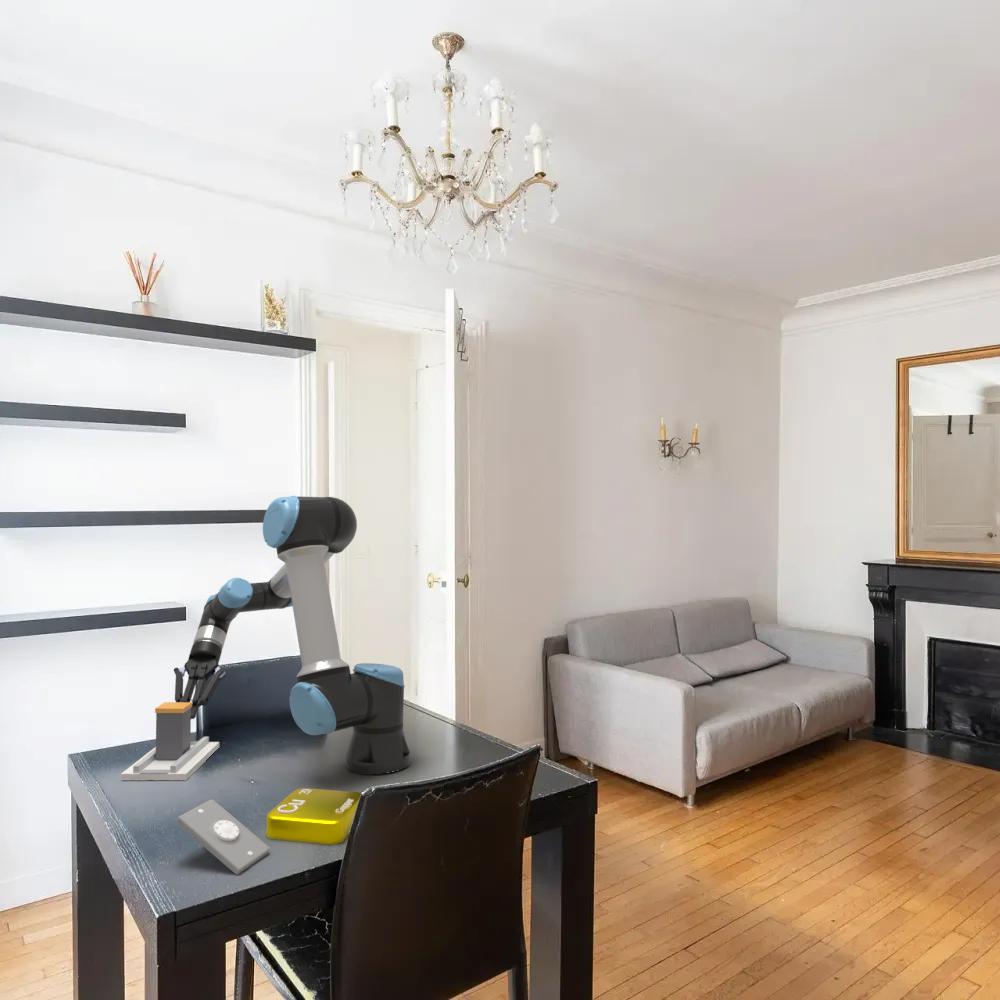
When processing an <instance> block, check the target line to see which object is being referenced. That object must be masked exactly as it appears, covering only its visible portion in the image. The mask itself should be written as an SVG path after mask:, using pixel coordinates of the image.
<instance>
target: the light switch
mask: <svg viewBox="0 0 1000 1000" xmlns="http://www.w3.org/2000/svg"><path fill="white" fill-rule="evenodd" d="M175 822H176V823H177V824H178V825H179V826H180V827H181V828H182V829H184V831H185V832H186V833H188V834H189V835H190V836H191V837H192V838H194V839H195V840H196V841H197V842H198V843H200V845H202V846H203V847H204V848H206V850H207V851H208V852H210V854H212V855H213V857H215V858H217V860H219V861H220V862H221V863H222V864H223V865H224V866H226V867H227V868H228V869H229V870H230V871H231V872H233V874H235V875H240V874H241V873H242V872H244V871H245V870H247V869H249V867H251V866H252V865H254V864H255V863H257V862H258V861H260V860H261V859H262V858H264V857H265V856H267V855H268V854H269V853H270V850H271V848H270V846H269V845H267V844H266V843H265V842H264V841H262V840H261V839H260V838H259V837H258V836H257V835H255V834H254V833H253V832H252V831H251V830H249V828H247V827H246V826H245V825H244V824H243V823H241V822H240V821H239V820H238V819H237V818H235V816H233V815H232V814H231V813H229V811H227V810H226V809H225V808H224V807H223V806H221V805H220V804H219V803H217V802H216V800H215V799H210V800H207V801H206V802H205V801H204V802H203V803H202V804H200V805H198V806H196V807H194V808H193V809H190V810H188V811H187V812H184V813H183V814H181V815H179V816H178V817H177V819H176V821H175Z"/></svg>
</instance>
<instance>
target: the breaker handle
mask: <svg viewBox="0 0 1000 1000" xmlns="http://www.w3.org/2000/svg"><path fill="white" fill-rule="evenodd" d="M191 707H192V701H190V702H176V701H175V702H172V701H169V702H165V701H164V702H163V703H162V704H160V705H158V706H157V707H156V708H155V707H154V713H155V717H156V718H155V719H156V720H155V721H156V722H155V747H156V760H178V759H179V758H180V757H181V756H182V755H184V754H185V753H186V752H187V751H188V750H189V749H190V741H191V731H192V730H191V723H192V722H191V721H192V719H191Z"/></svg>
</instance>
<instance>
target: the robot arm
mask: <svg viewBox="0 0 1000 1000" xmlns="http://www.w3.org/2000/svg"><path fill="white" fill-rule="evenodd" d="M357 529H358V522H357V517H356V514H355V511H354V510H353V508H352V507H351V506H350V505H349V504H348V503H347V502H345V501H344V500H343V499H339V498H337V497H333V496H296V495H291V496H280V497H277V498H275V499H274V500H272V501H271V502H270V504H269V505H268V507H267V509H266V511H265V514H264V517H263V522H262V536H263V539H264V541H265V543H266V545H267V546H268V547H270V548H272V549H276V554H277V559H279V560H280V561H282V562H283V563H284V564H283V565H282V567H280V569H279V570H278V571H277V572H276V573H275V574H274V575H273V576H272V578H270V580H268V581H263V582H251V583H250V582H249V581H248V580H247V579H243V578H242V577H233V578H230V579H229V580H227V582H226V583H225V584H223V585H222V586H221V587H220V589H219V591H218V592H217V593H215V594H211V595H210V596H209V597H208V599H207V600H206V602H205V605H204V607H203V610H202V611H203V612H202V615H201V618H200V622H199V624H198V627H197V631H196V634H195V637H194V639H193V643H192V646H191V648H190V649H191V650H190V652H189V654H188V660H187V661H186V662H185V663H184V665H183V666H182V667H180V668H179V667H175V668H173V672H174V675H175V684H174V685H175V687H174V701H175V702H192V707H191V720H195V718H196V715H197V713H198V710H199V708H200V707H202V706H204V707H205V706H207V705H208V704H209V702H210V700H211V698H212V696H213V695H214V693H215V691H216V690H217V688H218V686H219V684H220V682H221V681H222V680H223V679H224V678H225V677H226V675H227V673H226V671H225V668H223V667H220V665H219V662H220V660H221V656H222V653H223V650H224V649H223V648H224V645H225V642H226V639H227V638H226V637H227V634H228V631H229V629H230V625H231V623H232V621H233V620H234V619H235V618H236V617H237V616H238V614H239V613H247V612H257V611H265V610H268V611H269V610H277V609H278V610H281V609H285V608H290V607H292V612H293V617H294V624H295V630H296V631H295V632H296V635H297V641H298V649H299V654H300V660H301V669H300V670H299V671H298V673H297V674H296V681H297V682H296V684H295V685H293V686H292V688H291V689H290V692H289V693H290V694H289V695H290V696H289V708H290V711H291V715H292V718H293V720H294V722H295V723H296V725H297V726H298V728H300V729H301V730H302V731H303V733H306V734H307V735H309V736H319V735H323V734H325V735H328V734H332V733H333V732H337V731H341V730H345V729H349V728H352V735H351V737H350V741H349V743H348V745H347V748H346V753H345V757H344V766H345V769H347V770H349V771H350V772H352V773H356V772H358V773H357V774H360V773H365V774H364V775H371V774H376V775H381V774H380V773H387V772H392V771H397V770H400V771H402V770H401V769H403V768H405V767H406V766H408V765H409V766H410V764H411V751H410V747H409V745H408V740H407V738H406V735H405V731H404V700H405V699H404V697H405V695H404V694H405V684H404V683H405V680H404V672H403V670H402V669H401V668H400V667H397V666H395V665H389V664H384V663H372V662H370V663H368V662H363V663H357V664H355V665H354V666H353V667H354V668H353V669H352V671H353V673H351V669H350V665H349V663H347V662H346V661H344V660H343V659H342V658H341V651H340V646H339V639H338V634H337V629H336V623H335V622H336V621H335V617H334V611H333V605H332V599H331V594H330V588H329V581H328V577H327V570H326V566H325V565H326V563H327V562H328V561H329V559H331V558H332V557H333V556H334V554H340V553H341V552H343V551H344V550H345V549H346V548H347V547H348V546H349V545H350V544H351V543H352V542H353V539H354V538H355V536H356V533H357ZM185 673H187V675H188V676H187V677H188V679H187V682H186V686H185V688H184V677H185ZM210 677H211V679H210ZM209 679H210V681H208V680H209ZM208 682H209V683H208ZM206 685H207V686H206ZM409 763H410V764H409ZM409 766H408V767H409ZM406 768H407V767H406ZM406 768H405V769H406ZM403 770H404V769H403ZM397 772H398V771H397Z"/></svg>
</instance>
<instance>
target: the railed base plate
mask: <svg viewBox="0 0 1000 1000" xmlns="http://www.w3.org/2000/svg"><path fill="white" fill-rule="evenodd" d="M218 748H219V749H220V741H210V736H203V737H202V738H200V739H199V740H190V749H189V750H188V751H187V752H186V753H185V754H184V755H182V756H181V757H180V758H179V759H178V760H156V746H155V747H154V748H152V749H150V751H148V752H147V753H146V754H144V755H143V756H141V758H140V759H138V760H137V761H136V762H134V763H133V764H132V765H130V766H129V767H128V768H126V769H125V770H124V771H123V772H121V773H120V781H121V780H125V779H129V780H130V779H131V780H136V779H137V780H141V779H144V780H181V781H180V782H183V781H182V780H186V781H187V780H189V778H190V777H191V776H193V774H194V773H196V772H197V770H199V768H200V767H201V766H202V765H203V764H204V763H205V762H207V761H208V760H207V759H208V758H209V757H210V756H211V755H212V754H213V753H214V752H215V751H216V750H217V749H218ZM219 749H218V750H219ZM218 750H217V751H218ZM217 751H216V752H217ZM216 752H215V753H216ZM215 753H214V754H215ZM212 756H213V755H212ZM212 756H211V757H212ZM209 759H210V758H209ZM206 760H207V761H206Z"/></svg>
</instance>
